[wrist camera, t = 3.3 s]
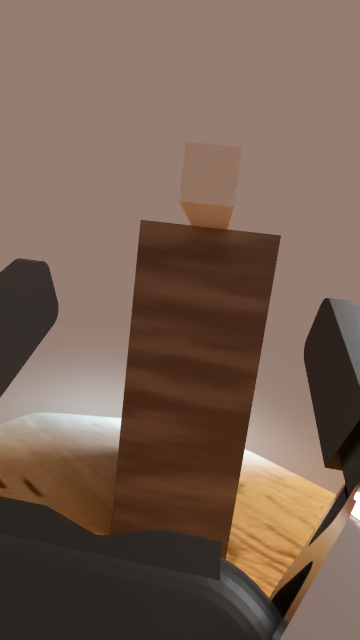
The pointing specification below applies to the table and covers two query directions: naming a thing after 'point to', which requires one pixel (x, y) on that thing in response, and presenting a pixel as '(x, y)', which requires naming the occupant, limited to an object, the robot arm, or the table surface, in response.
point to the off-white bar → (209, 183)
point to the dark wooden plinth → (190, 377)
